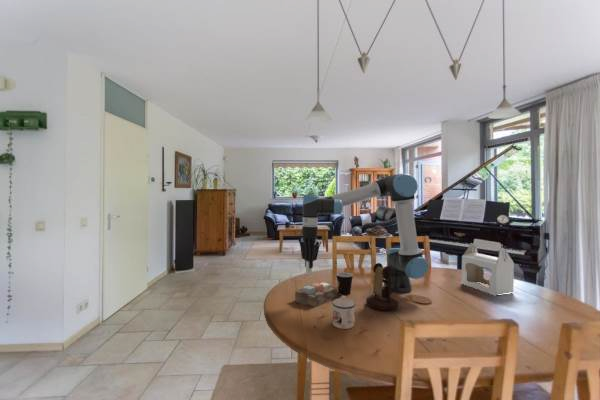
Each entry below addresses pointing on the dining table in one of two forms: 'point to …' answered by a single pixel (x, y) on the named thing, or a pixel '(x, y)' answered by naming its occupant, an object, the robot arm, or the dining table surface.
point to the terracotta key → (317, 286)
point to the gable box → (499, 266)
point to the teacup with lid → (343, 313)
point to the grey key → (309, 289)
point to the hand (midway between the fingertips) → (308, 274)
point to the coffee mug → (344, 283)
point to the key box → (316, 296)
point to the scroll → (382, 289)
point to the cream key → (325, 285)
